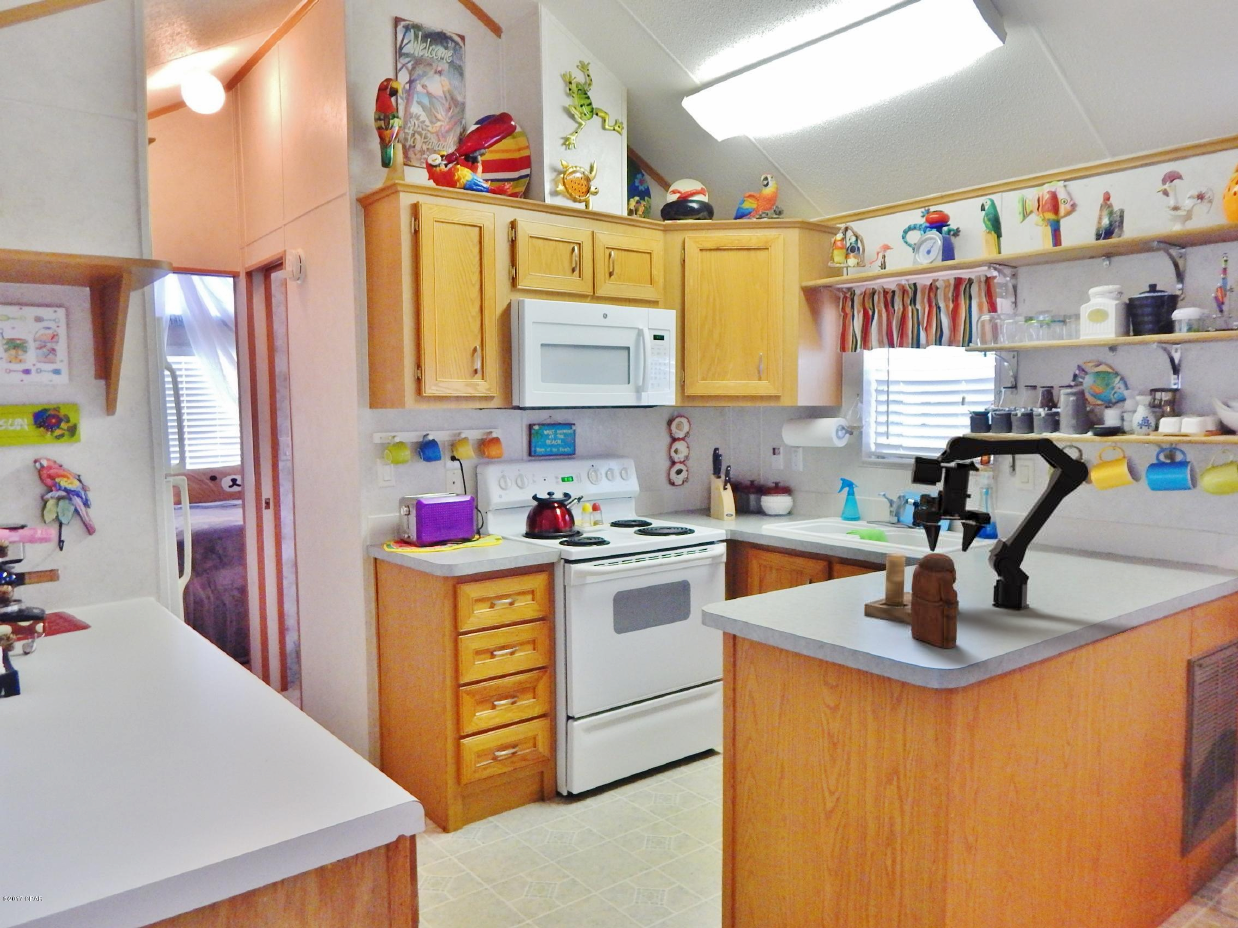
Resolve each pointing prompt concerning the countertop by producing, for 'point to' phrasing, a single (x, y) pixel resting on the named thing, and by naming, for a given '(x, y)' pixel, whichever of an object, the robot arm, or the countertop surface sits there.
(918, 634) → the wooden figurine
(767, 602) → the countertop surface
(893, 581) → the oak peg
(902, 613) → the walnut board
